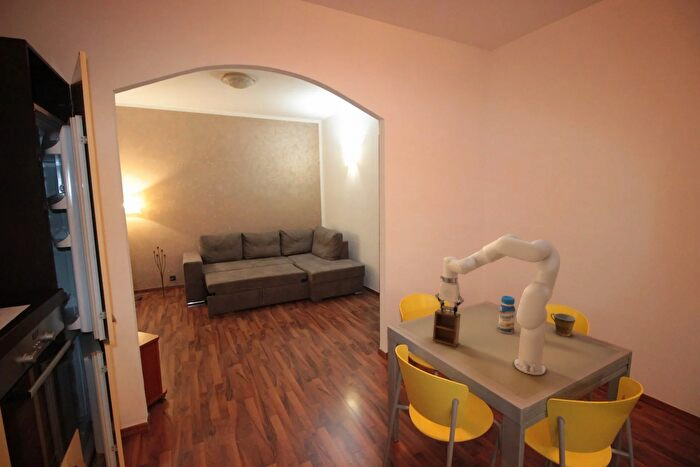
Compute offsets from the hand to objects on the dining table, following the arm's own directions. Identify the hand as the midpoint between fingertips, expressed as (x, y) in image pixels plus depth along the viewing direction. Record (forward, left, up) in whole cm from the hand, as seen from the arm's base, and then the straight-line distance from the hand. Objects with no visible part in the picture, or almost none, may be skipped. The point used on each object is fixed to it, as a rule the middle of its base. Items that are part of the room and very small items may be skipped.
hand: (448, 311), depth 173 cm
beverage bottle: (+29, -25, -16) cm, 41 cm away
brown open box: (-4, 0, -16) cm, 16 cm away
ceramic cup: (+43, -51, -16) cm, 69 cm away
